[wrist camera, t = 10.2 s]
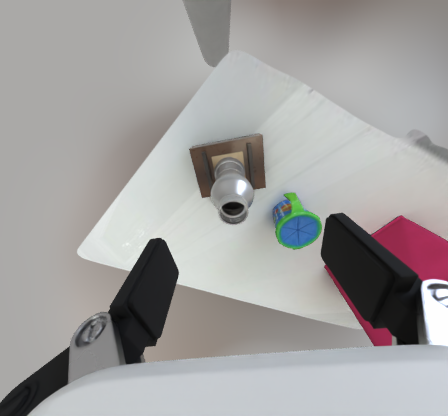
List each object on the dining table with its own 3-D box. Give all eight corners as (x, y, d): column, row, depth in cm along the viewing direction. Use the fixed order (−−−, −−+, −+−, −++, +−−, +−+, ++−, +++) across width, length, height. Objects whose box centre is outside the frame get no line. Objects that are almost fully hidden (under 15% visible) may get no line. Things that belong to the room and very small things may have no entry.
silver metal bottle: (217, 152, 36) (209, 184, 18) (247, 157, 37) (267, 194, 19) (212, 179, 39) (202, 229, 22) (240, 184, 40) (252, 237, 22)
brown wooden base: (192, 146, 39) (187, 150, 35) (259, 133, 38) (263, 135, 33) (203, 191, 45) (201, 200, 40) (262, 182, 44) (267, 190, 39)
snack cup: (301, 231, 51) (317, 254, 42) (267, 234, 52) (275, 258, 43) (307, 183, 44) (328, 200, 35) (267, 188, 44) (277, 205, 36)
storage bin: (319, 267, 59) (388, 377, 34) (399, 212, 48) (591, 315, 23) (363, 296, 67) (447, 403, 42) (441, 254, 56) (619, 366, 31)
